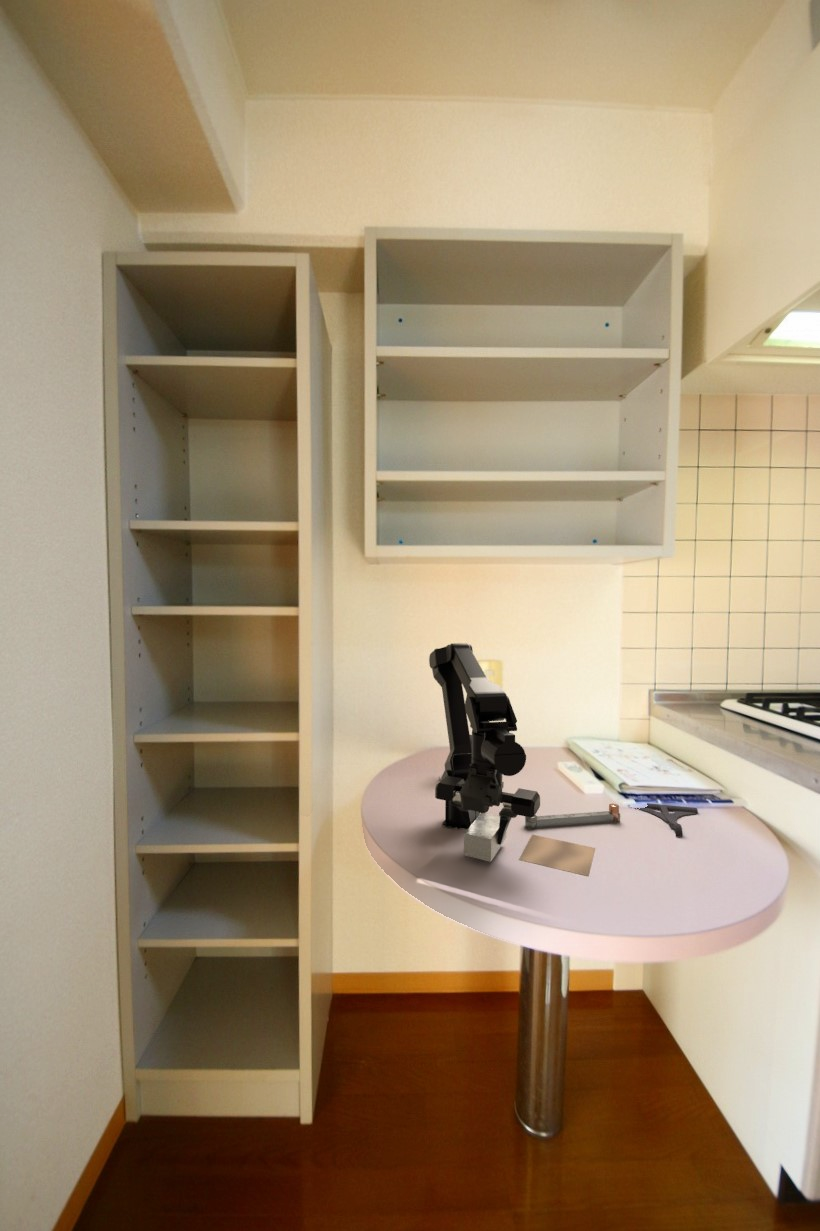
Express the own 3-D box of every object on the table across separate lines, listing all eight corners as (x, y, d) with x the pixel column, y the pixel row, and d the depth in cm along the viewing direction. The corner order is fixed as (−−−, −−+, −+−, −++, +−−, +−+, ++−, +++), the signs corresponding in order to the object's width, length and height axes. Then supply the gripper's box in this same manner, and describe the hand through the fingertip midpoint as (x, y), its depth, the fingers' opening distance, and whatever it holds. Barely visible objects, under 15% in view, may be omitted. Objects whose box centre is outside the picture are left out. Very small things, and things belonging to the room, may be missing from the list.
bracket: (640, 835, 102) (640, 822, 101) (627, 807, 116) (628, 795, 116) (718, 845, 98) (719, 831, 98) (695, 814, 112) (696, 802, 112)
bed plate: (518, 862, 89) (518, 859, 89) (532, 837, 99) (532, 834, 99) (588, 879, 84) (588, 876, 84) (595, 851, 94) (595, 847, 94)
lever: (527, 831, 101) (528, 814, 101) (523, 826, 103) (523, 809, 103) (621, 824, 105) (621, 807, 105) (614, 819, 107) (614, 803, 107)
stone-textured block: (463, 855, 88) (464, 833, 88) (481, 832, 97) (481, 812, 97) (490, 861, 86) (491, 839, 86) (506, 837, 95) (506, 817, 95)
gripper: (423, 762, 88) (422, 848, 88) (527, 779, 80) (526, 874, 80) (446, 746, 98) (445, 823, 98) (541, 760, 90) (540, 844, 90)
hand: (486, 840), depth 91 cm, fingers closed on stone-textured block, 5 cm apart
